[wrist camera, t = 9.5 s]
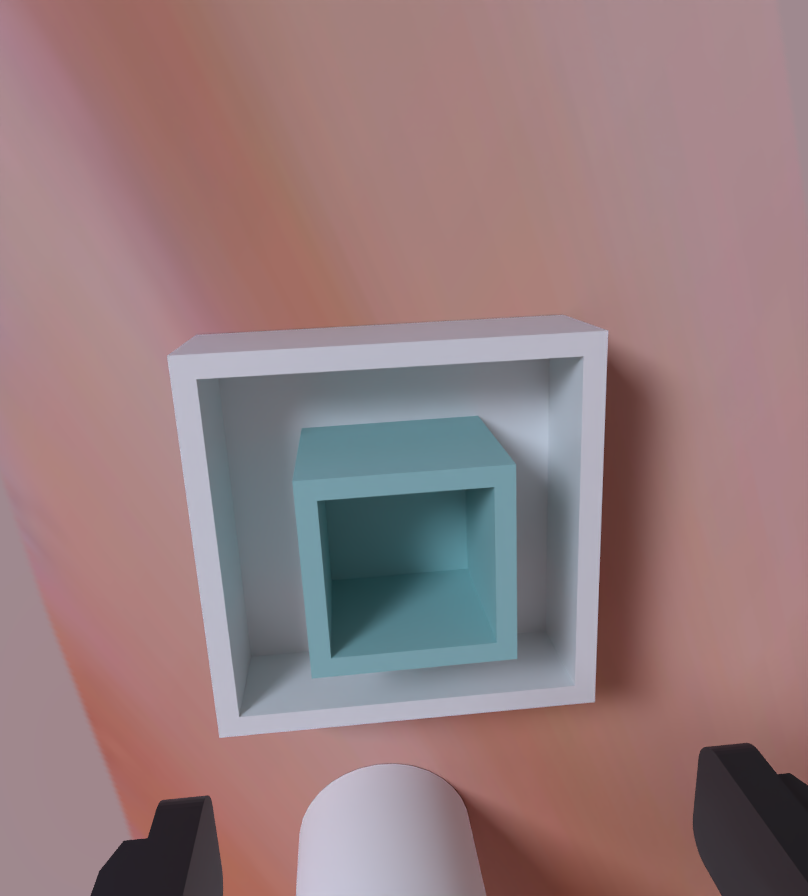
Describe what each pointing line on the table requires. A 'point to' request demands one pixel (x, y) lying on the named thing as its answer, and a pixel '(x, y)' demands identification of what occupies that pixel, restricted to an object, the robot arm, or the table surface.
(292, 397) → the white crate
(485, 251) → the table surface
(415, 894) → the cylindrical container
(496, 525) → the teal crate
